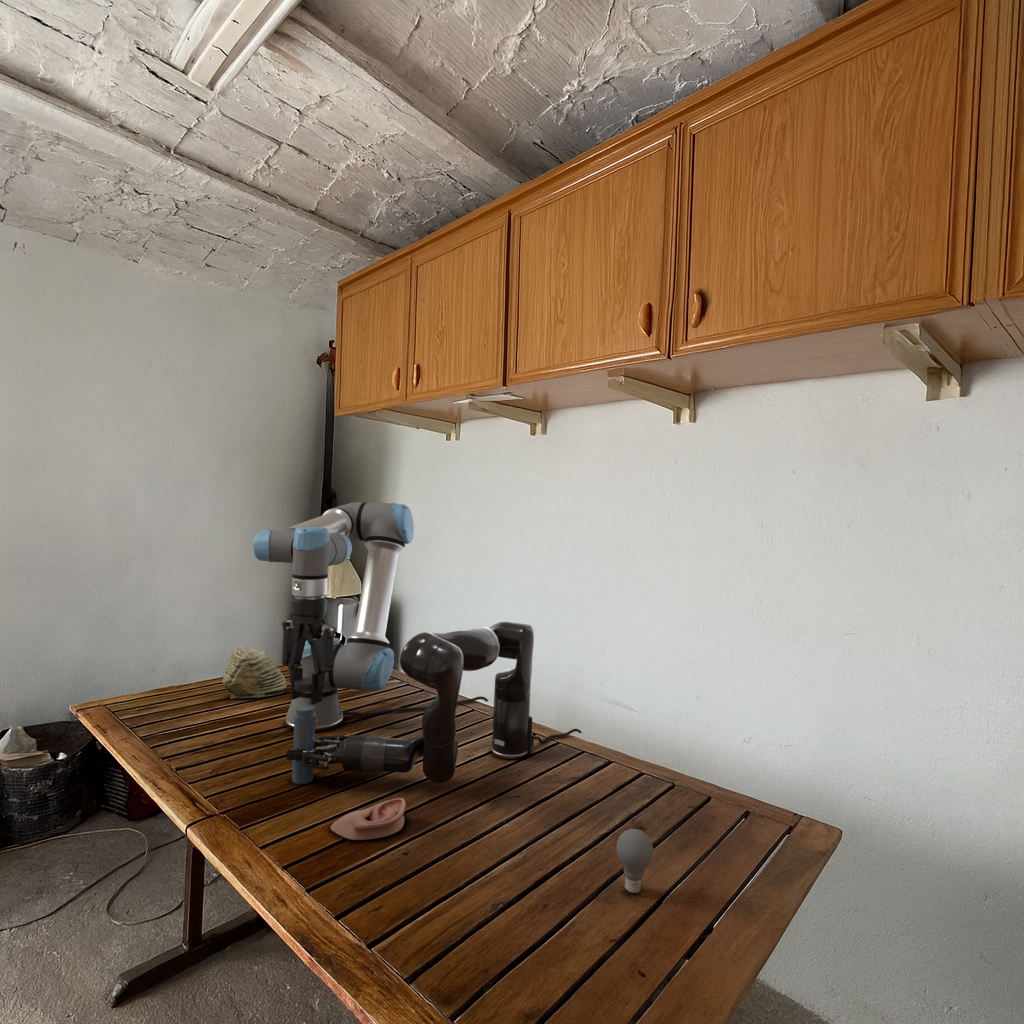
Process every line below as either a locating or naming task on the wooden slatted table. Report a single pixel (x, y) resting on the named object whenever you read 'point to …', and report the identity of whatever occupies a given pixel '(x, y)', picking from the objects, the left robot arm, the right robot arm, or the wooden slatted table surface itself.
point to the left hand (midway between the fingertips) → (306, 699)
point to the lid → (303, 684)
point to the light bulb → (634, 857)
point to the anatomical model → (372, 821)
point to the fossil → (252, 674)
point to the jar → (303, 742)
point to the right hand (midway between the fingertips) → (291, 749)
